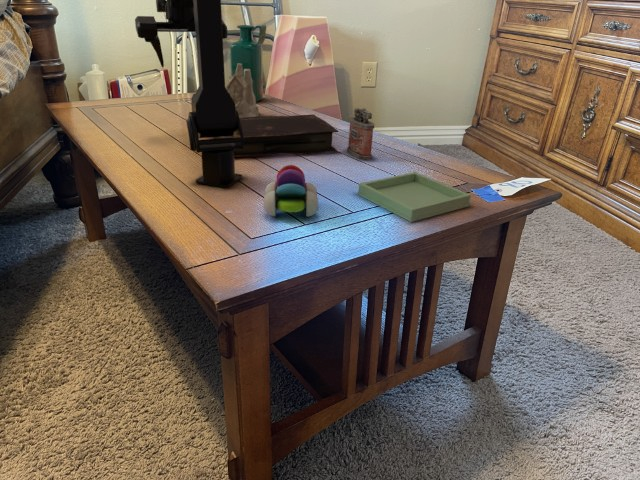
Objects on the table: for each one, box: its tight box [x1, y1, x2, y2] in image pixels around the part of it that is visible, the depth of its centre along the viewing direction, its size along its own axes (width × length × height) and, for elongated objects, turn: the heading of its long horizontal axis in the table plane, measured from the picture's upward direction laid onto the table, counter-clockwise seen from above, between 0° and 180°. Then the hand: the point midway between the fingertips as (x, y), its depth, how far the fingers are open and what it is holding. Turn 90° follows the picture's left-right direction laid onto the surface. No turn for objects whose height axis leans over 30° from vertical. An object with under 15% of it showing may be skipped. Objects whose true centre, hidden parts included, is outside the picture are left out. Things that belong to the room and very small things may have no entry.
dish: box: [357, 171, 472, 223], centre depth 89 cm, size 14×14×2 cm
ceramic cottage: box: [195, 64, 260, 118], centre depth 136 cm, size 16×16×15 cm
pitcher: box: [229, 24, 267, 103], centre depth 156 cm, size 10×8×22 cm
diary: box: [212, 114, 339, 158], centre depth 115 cm, size 19×25×5 cm
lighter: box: [346, 107, 375, 161], centre depth 110 cm, size 8×3×10 cm, turn 25°
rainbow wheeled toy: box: [263, 164, 319, 218], centre depth 81 cm, size 8×10×7 cm
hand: (183, 66), depth 115 cm, fingers open, 9 cm apart
